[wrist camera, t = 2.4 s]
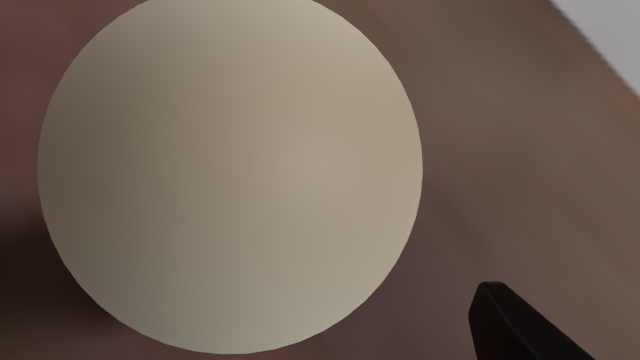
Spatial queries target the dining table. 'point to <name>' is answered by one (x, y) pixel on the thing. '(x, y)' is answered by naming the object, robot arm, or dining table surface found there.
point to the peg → (229, 171)
